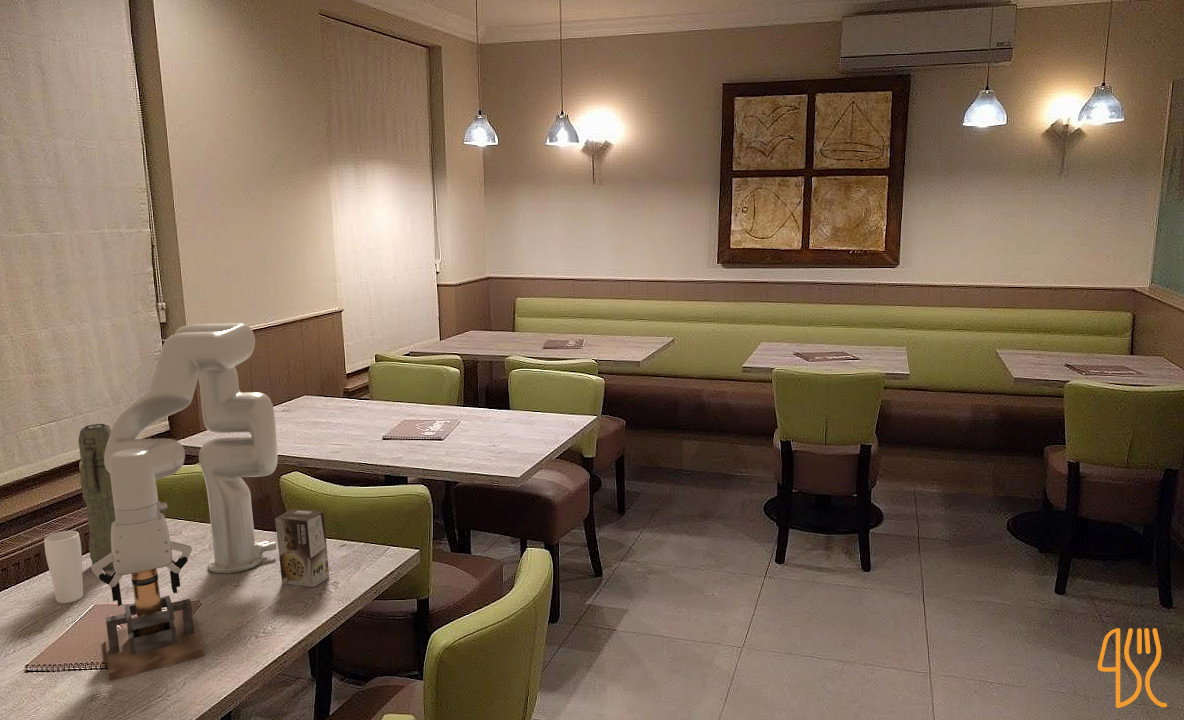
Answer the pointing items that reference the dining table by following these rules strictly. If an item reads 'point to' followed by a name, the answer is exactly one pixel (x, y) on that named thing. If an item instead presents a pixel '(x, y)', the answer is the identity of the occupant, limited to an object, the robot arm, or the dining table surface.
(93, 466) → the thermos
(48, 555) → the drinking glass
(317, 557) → the coffee box
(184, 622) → the collar stand
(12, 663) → the dining table surface
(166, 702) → the dining table surface
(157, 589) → the tan cylinder
